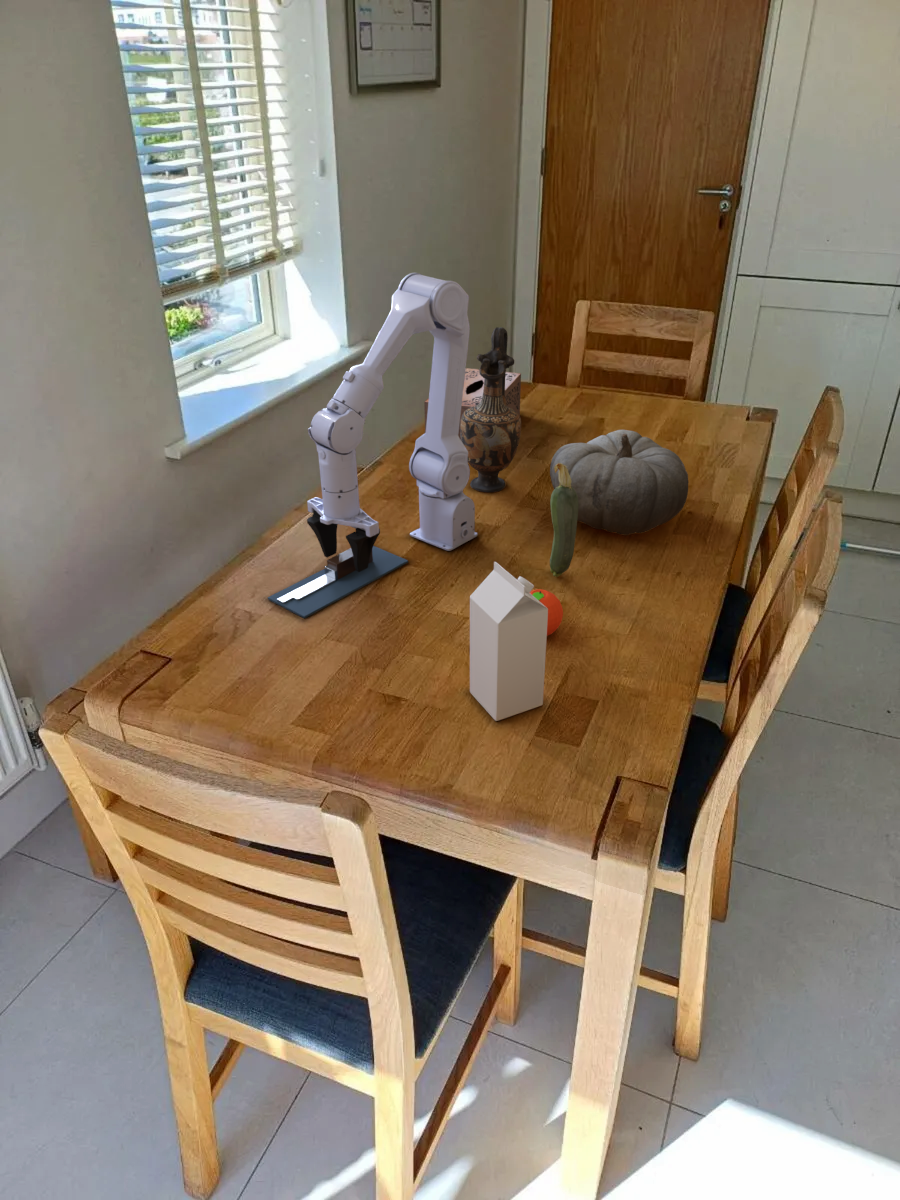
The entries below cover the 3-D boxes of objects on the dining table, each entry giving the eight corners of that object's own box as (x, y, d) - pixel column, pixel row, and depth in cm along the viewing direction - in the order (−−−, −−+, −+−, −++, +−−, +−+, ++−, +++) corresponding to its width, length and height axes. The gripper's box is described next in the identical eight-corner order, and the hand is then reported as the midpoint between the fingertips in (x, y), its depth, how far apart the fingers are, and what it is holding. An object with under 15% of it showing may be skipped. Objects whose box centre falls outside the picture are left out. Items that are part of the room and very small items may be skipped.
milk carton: (496, 722, 111) (498, 594, 101) (469, 692, 117) (469, 568, 107) (543, 706, 114) (550, 579, 104) (515, 677, 120) (519, 554, 110)
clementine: (545, 655, 124) (547, 612, 120) (502, 641, 127) (503, 599, 123) (569, 628, 130) (572, 587, 126) (528, 615, 133) (529, 575, 129)
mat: (408, 562, 148) (408, 560, 147) (304, 618, 133) (304, 616, 133) (371, 546, 153) (371, 544, 152) (267, 599, 138) (267, 597, 138)
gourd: (519, 518, 155) (539, 423, 148) (568, 489, 176) (588, 404, 169) (654, 563, 146) (682, 463, 139) (689, 526, 167) (715, 438, 160)
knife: (362, 556, 149) (361, 542, 147) (373, 561, 147) (372, 546, 146) (277, 600, 137) (274, 585, 135) (287, 606, 135) (285, 590, 134)
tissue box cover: (488, 453, 189) (488, 408, 184) (425, 445, 193) (424, 401, 188) (519, 414, 210) (521, 373, 204) (462, 408, 214) (462, 367, 209)
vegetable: (575, 573, 144) (584, 459, 133) (570, 586, 140) (578, 470, 130) (549, 569, 145) (556, 456, 135) (543, 582, 142) (549, 466, 131)
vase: (451, 492, 172) (450, 337, 156) (474, 468, 182) (475, 321, 166) (508, 501, 168) (512, 343, 152) (528, 477, 178) (534, 326, 162)
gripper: (289, 481, 138) (298, 557, 145) (353, 506, 130) (359, 585, 137) (323, 468, 143) (329, 542, 150) (386, 491, 135) (390, 568, 142)
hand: (346, 562), depth 144 cm, fingers open, 7 cm apart
